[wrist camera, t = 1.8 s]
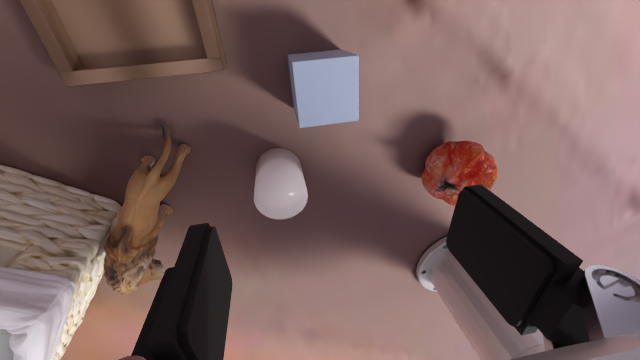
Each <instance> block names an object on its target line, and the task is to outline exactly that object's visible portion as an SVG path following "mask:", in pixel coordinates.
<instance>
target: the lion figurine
mask: <svg viewBox="0 0 640 360" xmlns="http://www.w3.org/2000/svg"><path fill="white" fill-rule="evenodd" d="M170 132H171V129H170V128H169V125H168V124H167V123H163V124H162V135H163V137H164V140H165V147H164V151H163V153H162V155H161V157H160V159H159V160H158V162H157V163H156V165H155V166H154V168H153V169H152V170H151V166H153V164H154V163H155V159H154V157H153V156H150V155H146V156H144V157H143V158H142V159H141V163H142V165H141V166H140V167H139V168H138V169H137V170H135V171H134V172H133V174H132V176H131V178H130V180H129V182H128V184H127V189H126V193H125V202H124V204H123V206H122V208H121V210H120V212H119V215H118V220H117V226H116V227H115V229H114V231H113V232H112V233H111V234H110V235H109V236H108V237H107V240H106V244H105V246H104V251H105V253H106V255H105V258H104V269H105V271H106V272H105V274H104V275H105V277H106V278H107V280H106V282H107V284H108V285H109V286H110V287H112V288H113V290H114V291H116V292H121V293H122V294H125V295H128V294H130V293H131V292H133V291H135V290H136V289H137V287H138V285H144V284H146V283H147V282H148V281H150V280H156V279H161V278H163V275H164V267H163V265H162V262H161V261H160V260H155V259H153V257H154V255H155V253H156V252H155V246H156V244H157V239H158V238H157V237H158V232H159V230H160V229H161V227H162V225H163V223H164V218H165V215H170V214H171V213H172V212H173V209H172V208H171V207H170V206H169V205H165V204H163V205H161V206H160V201H161V200H162V199H164V197H165V196H166V195H167V194H168V192H169V191H170V190H171V188H172V186H173V185H174V184H175V182H176V180H177V178H178V175H179V173H180V169H181V165H182V163H183V160H184V158H185V156H187V155H188V154H189V153H190V151H191V148H190V147H189V146H188V145H186V144H181V145H180V146H179V148H178V151H177V152H176V155H175V160H174V162H173V164H172V166H171V167H170V168H169V169H168V170H167V171H166V172H164V173H163V174H161V175H160V173H161V171H162V169H163V167H164V165H165V163H166V161H167V159H168V156H169V154H170V151H171V139H170Z"/></svg>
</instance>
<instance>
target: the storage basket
mask: <svg viewBox="0 0 640 360" xmlns="http://www.w3.org/2000/svg"><path fill="white" fill-rule="evenodd" d="M121 208H122V206H121V205H119V204H118V203H117V202H116V201H114V200H112V199H109V198H106V197H103V196H100V195H96V194H91V193H89V192H87V191H84V190H81V189H78V188H75V187H71V186H66V185H64V184H62V183H60V182H57V181H54V180H51V179H47V178H44V177H40V176H37V175H32V174H30V173H28V172H25V171H23V170H19V169H15V168H12V167H8V166H3V165H0V360H60V359H61V357H62V356H63V354H64V352H65V350H66V347H67V346H68V345H69V343H70V342H71V339H72V337H73V334H74V332H75V330H76V329H77V328H78V326H79V325H80V324H81V323H82V321H83V317H84V315H85V312H86V309H87V308H88V306H89V303H90V301H91V299H92V298H93V297H94V295H95V292H96V290H97V285H98V283H99V282H100V280H101V278H102V275H103V270H104V258H105V255H106V253H105V251H104V246H105V244H106V240H107V237H108V236H109V235H110V234H111V233H112V232H113V231H114V229H115V227H116V226H117V220H118V215H119V212H120V210H121Z"/></svg>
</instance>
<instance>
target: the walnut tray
mask: <svg viewBox="0 0 640 360" xmlns="http://www.w3.org/2000/svg"><path fill="white" fill-rule="evenodd" d="M19 1H20V3H21V4H22V6H23V8H24V10H25V12H26V14H27V15H28V17H29V19H30V21H31V23H32V25H33V27H34V28H35V30H36V32H37V34H38V36H39V38H40V40H41V41H42V43H43V45H44V47H45V49H46V51H47V52H48V54H49V56H50V58H51V60H52V62H53V64H54V65H55V67H56V69H57V71H58V73H59V75H60V77H61V78H62V80H63V82H64V84H65V86H76V85H86V84H96V83H105V82H115V81H125V80H135V79H145V78H155V77H164V76H174V75H184V74H194V73H204V72H214V71H223V70H224V69H225V68H226V67H227V63H226V59H225V55H224V50H223V46H222V42H221V38H220V33H219V29H218V25H217V20H216V16H215V12H214V8H213V3H212V0H19Z"/></svg>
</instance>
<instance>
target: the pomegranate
mask: <svg viewBox="0 0 640 360" xmlns="http://www.w3.org/2000/svg"><path fill="white" fill-rule="evenodd" d="M496 178H497V166H496V164H495V160H494V157H493V156H491V155H490V154H489V153H487V152H486V151H485V150H484V148H483V146H482V145H480V144H478V143H475V142H470V141H460V142H453V141H449V142H446V143H444V144H442V145H440V146H438V147H437V148H435V149H434V150H433V151H431V153H430V154H429V155H428V157H427V158H426V162H425V169H424V171H423V174H422V182H423V186H424V188H425V189H426V191H428V192H429V193H430V194H431V195H432V196H433V197H435V198H439V199H442V200H444V201H445V202H447V203H448V204H451V205H454V206H456V202H457V199H458V195H459V192H460V191H462V189H463V188H464V187H466V186H472V185H482V186H484V187H485V188H487V189H488V190H490V189H491V188H492V186H493V185H494V183H495V181H496Z"/></svg>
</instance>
